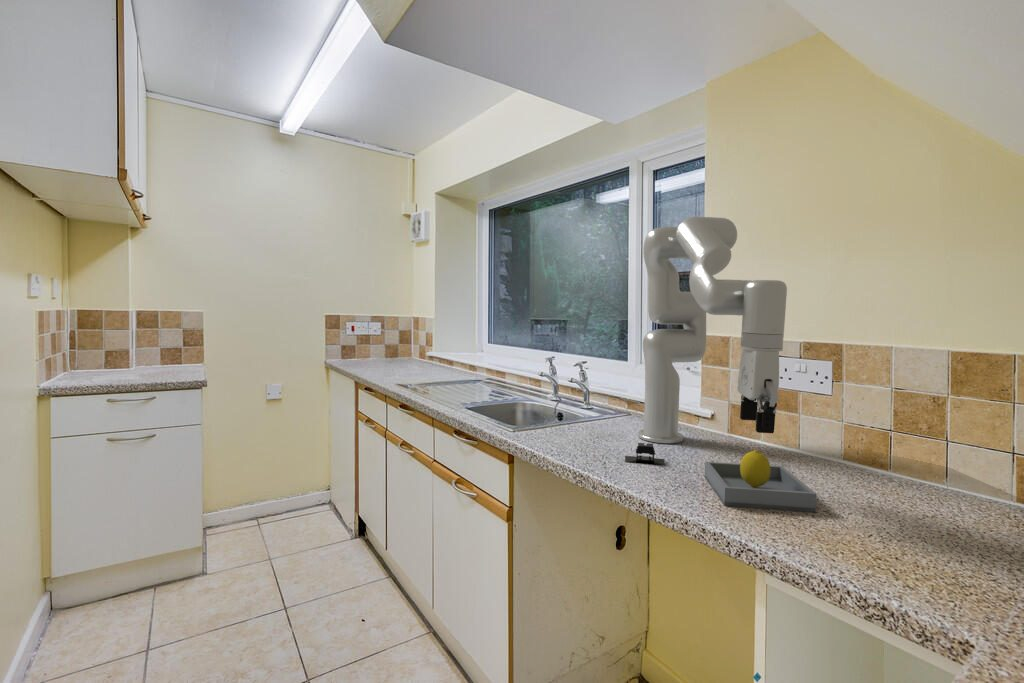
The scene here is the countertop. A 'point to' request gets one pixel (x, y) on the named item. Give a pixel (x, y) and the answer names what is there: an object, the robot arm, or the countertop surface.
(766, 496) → the tray
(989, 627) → the countertop surface
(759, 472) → the lemon
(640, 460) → the black arched block
